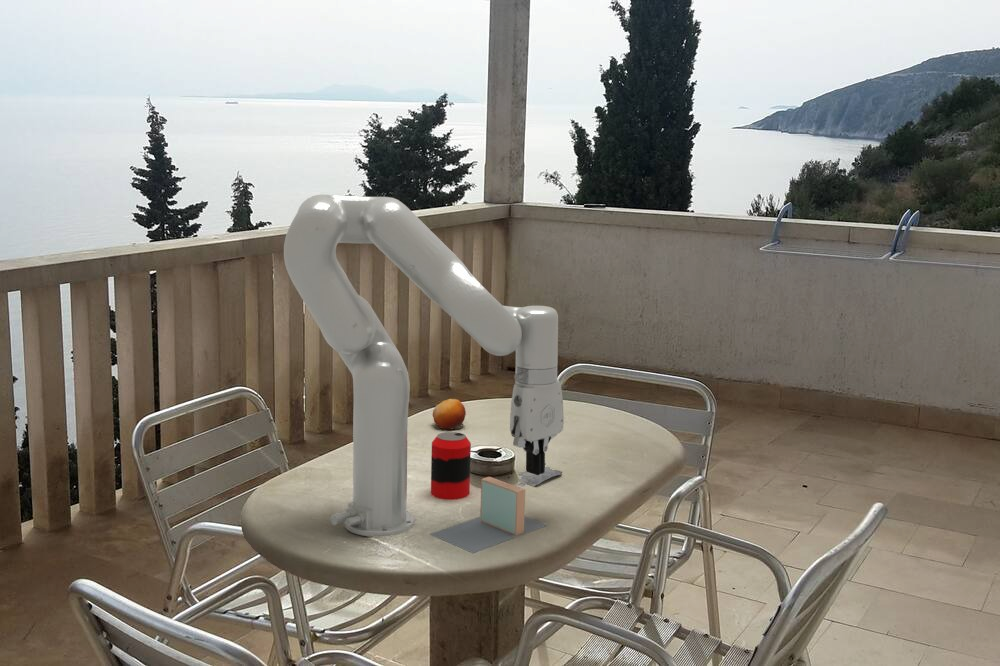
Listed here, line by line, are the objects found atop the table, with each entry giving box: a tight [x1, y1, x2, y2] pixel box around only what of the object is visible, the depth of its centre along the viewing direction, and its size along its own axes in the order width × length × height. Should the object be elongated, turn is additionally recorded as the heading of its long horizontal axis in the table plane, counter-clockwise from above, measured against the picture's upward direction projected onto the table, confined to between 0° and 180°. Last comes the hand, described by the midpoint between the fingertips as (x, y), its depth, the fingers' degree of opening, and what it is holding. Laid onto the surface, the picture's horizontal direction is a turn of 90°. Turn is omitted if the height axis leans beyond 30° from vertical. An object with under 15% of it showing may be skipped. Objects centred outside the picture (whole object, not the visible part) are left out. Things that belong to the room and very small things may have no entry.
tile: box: [479, 476, 526, 535], centre depth 180 cm, size 2×9×8 cm, turn 45°
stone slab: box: [514, 462, 562, 488], centre depth 210 cm, size 18×2×10 cm
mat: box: [429, 515, 549, 554], centre depth 179 cm, size 19×11×1 cm, turn 136°
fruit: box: [432, 398, 467, 431], centre depth 243 cm, size 8×8×8 cm
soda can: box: [430, 431, 472, 501], centre depth 196 cm, size 8×8×12 cm
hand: (535, 472), depth 185 cm, fingers closed
